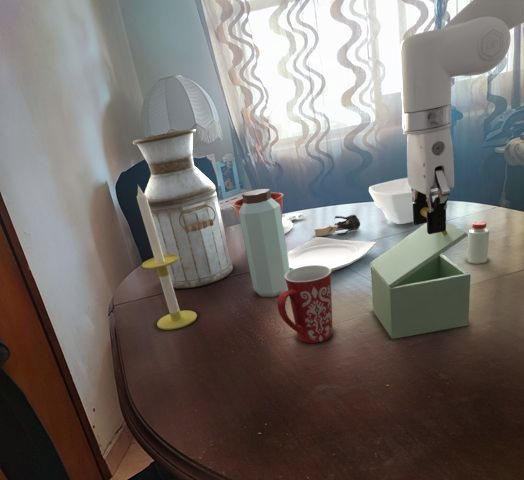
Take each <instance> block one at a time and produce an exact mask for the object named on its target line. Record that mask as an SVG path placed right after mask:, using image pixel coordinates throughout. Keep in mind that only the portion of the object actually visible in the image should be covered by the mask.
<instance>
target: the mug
mask: <svg viewBox="0 0 524 480" xmlns="http://www.w3.org/2000/svg"><path fill="white" fill-rule="evenodd" d="M331 275H332V272H331V269H330V268H328V267H326V266H321V265H309V266H303V267H298V268H295V269H293V270H290V271H289V272H287V273H286V274H285V275H284V279H285V280H286V283H287V288H288V290H287V291H284V292H282V293H281V294H280V295H278V297H277V311H278V314H279V316H280V318H281V319H282V320H283V322H284V323H285V324H286V325H287V326H288V327H289V328H291V329H292V330H294V331H295V332H296V335H297V339H298V340H300V341H301V342H303V343H309V344H314V343H315V344H316V343H322V342H325V341H327V340H328V339H330V338H332V336H333V334H334V326H333V324H334V323H333V302H332V301H333V300H332V277H331ZM288 298H289V302H290V307H291V310H292V311H291V313H292V316H293V320H294V322H293V320H291V318H290V317H289V316H288V313H287V309H286V302H287V299H288Z"/></svg>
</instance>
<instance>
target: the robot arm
mask: <svg viewBox="0 0 524 480" xmlns="http://www.w3.org/2000/svg"><path fill="white" fill-rule="evenodd" d="M522 24H524V0H471V1H470V2H469V3H468V4H467V5H465V6H464V8H462V9H461V10H460V11H459V12H458V13H457V14H455V16H453V18H451V19H450V20H449V21H448V22H447V23H446V24H445V25H444V26H443V27H442V28H436V29H431V30H427V31H423V32H419V33H415V34H412V35H410V36H407V37H406V38H404V39H403V40H402V42H401V44H400V47H399V66H400V87H401V109H402V130H403V131H402V134H403V135H404V136H407V137H406V173H407V178H408V184H409V186H410V187H411V189H412V190H411V191H412V192H413V193H412V202H413V222H412V223H413V225H415V226H419V225H424V224H425V223H427V233H428V234H434V233H439V232H443V231H445V230H446V221H447V208H448V204H447V203H448V200H449V196H450V195H451V191H452V190H453V189H454V188H455V163H454V161H455V160H454V148H453V147H454V146H453V139H452V133H451V127H452V79H454V78H455V79H456V78H462V77H473V76H479V75H483V74H485V73H489V72H490V71H493V69H495V68H497V66H498V65H500V64H501V63H502V61H503V60H504V59H505V57H506V56H507V54H508V52H509V50H510V46H511V41H512V40H511V39H512V37H511V32H510V30H513V29H514V28H515V27H518V26H520V25H522ZM435 188H438V191H435V192H432V191H431V189H435ZM437 195H438V197H436V198H435V200H434V202H433V199H432V196H437ZM426 200H427V201H426ZM424 207H427V208H428V209H429V211H427V218H426V217H424V216H422V215H421V209H422V208H424Z"/></svg>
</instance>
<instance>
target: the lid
mask: <svg viewBox="0 0 524 480" xmlns="http://www.w3.org/2000/svg"><path fill="white" fill-rule="evenodd" d="M427 211H429V209H428V208H427V207H424V208H422V209H421V215H422V216H424V217H426V218H427ZM467 237H469V234H468V233H467V231H465V230H463V229H462V228H460V227H458V226H456V225H454V224H452V223H451V222H449V221H447V220H446V230H445V231H443V232H439V233H434V234H428V233H427V223H423V224H421V226H419V227H418V228H416V229H415V230H414V231H412V232H411V233H409V234H408V235H406V236H405V237H404V238H402V239H401V240H399V241H398V242H396V243H395V244H394V245H392V246H391V247H390V248H388V249H387V250H386V251H384V252H383V253H381V254H380V255H378V256H377V257H375V258H374V259H373V260H371V261H370V262H369V265H370V267H371V266H372V267H373V268H374V269H375V270H376V272H377V273H378V274H379V275H380V276H381V277H382V279H383V280H384V281H385V282H386V283H387V284H388V286H389V287H390V288H392V287H394V286H395V285H397V284H398V283H400V282H401V281H402V280H404V279H405V278H407V277H408V276H410V275H411V274H413V273H414V272H416V271H417V270H419V269H420V268H421V267H423V266H424V265H426V264H427V263H429V262H430V261H432V260H433V259H435V258H436V257H438V256H439V255H440V254H443V253H445V252H447V251H448V250H449V249H451V248H452V247H454V246H455V245H457V244H458V243H459V242H461V241H462V240H464V239H465V238H467Z"/></svg>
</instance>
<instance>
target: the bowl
mask: <svg viewBox="0 0 524 480" xmlns="http://www.w3.org/2000/svg"><path fill="white" fill-rule="evenodd" d="M411 190H412V189H411V187H410V186H409V184H408V177H403V178H398V179H393V180H389V181H385V182H380V183H377V184H374V185H370V186H369V187H368V192H369V194H370V196H371V198H372V200H373V202H374V204H375V205H376V207H377V209H380V210H382V212H383V214H384V216H385V218H386V219H387V221H389V222H390V223H393V224H397V225H404V224H409V223H410V224H411V223H413V202H412V193H413V192H412V191H411ZM431 191H432V192H435V191H438V188H435V189H431ZM436 197H438V195H437V196H432V199H433V202H434V200H435V198H436ZM426 201H427V200H426Z"/></svg>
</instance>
